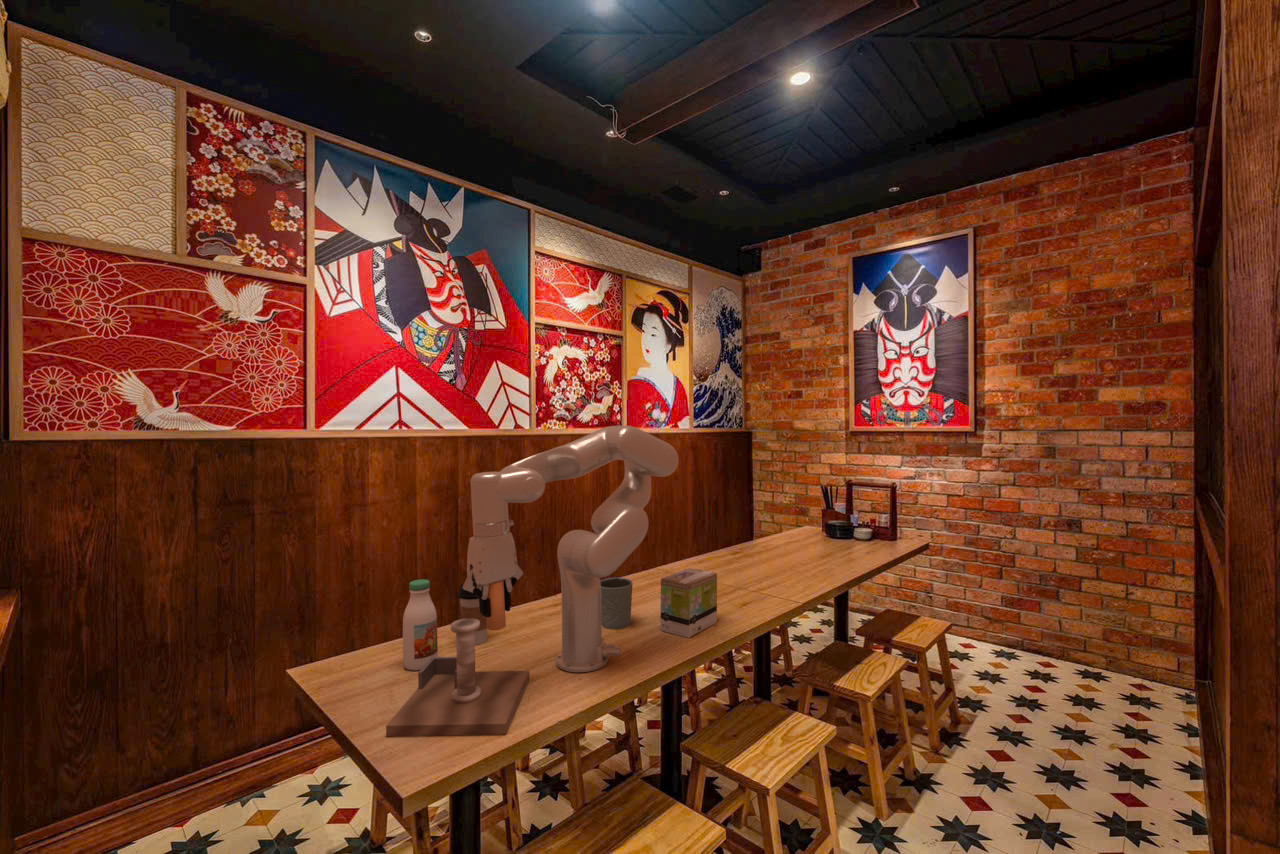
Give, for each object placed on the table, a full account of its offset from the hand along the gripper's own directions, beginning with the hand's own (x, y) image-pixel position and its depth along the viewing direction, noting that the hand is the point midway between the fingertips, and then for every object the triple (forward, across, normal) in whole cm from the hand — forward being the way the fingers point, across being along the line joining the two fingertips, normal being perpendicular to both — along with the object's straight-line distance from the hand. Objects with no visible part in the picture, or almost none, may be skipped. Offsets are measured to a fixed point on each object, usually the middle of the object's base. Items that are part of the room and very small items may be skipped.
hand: (495, 611), depth 119 cm
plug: (+3, 0, 0) cm, 3 cm away
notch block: (+14, +9, -7) cm, 18 cm away
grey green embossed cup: (+19, -43, -11) cm, 48 cm away
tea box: (+19, -56, +6) cm, 60 cm away
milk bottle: (+16, +8, -24) cm, 30 cm away
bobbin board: (+16, +9, +2) cm, 19 cm away
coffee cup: (+17, -8, -28) cm, 34 cm away
